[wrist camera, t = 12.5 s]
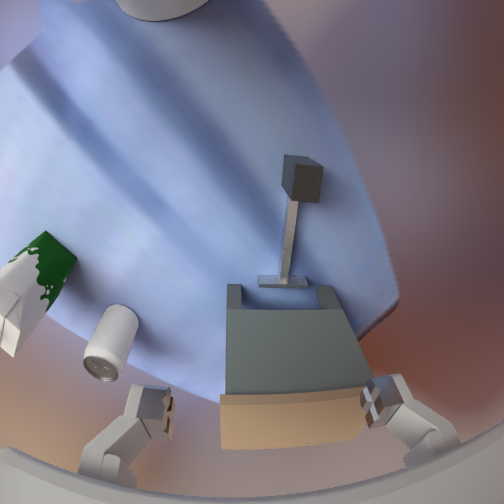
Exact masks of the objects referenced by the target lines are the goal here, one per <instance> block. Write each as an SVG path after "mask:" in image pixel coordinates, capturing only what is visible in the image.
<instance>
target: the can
mask: <svg viewBox="0 0 504 504" xmlns="http://www.w3.org/2000/svg"><path fill="white" fill-rule="evenodd" d="M138 326H139V321H138V318H137V316H136V315H135V313H134V312H133V311H132V310H131V309H130V308H128V307H126V306H124V305H119V304H115V305H111V306H109V307H107V309H106V310H105V312H104V314H103V315H102V317H101V319H100V321H99V323H98V325H97V327H96V329H95V331H94V333H93V335H92V337H91V339H90V341H89V343H88V345H87V347H86V349H85V352H84V361H83V365H84V367H85V369H86V370H87V371H88V372H89V373H90V374H91V375H92V376H94V377H95V378H97V379H99V380H102V381H106V382H113V381H115V380H117V379H118V376H119V375H120V374H121V373H122V372H123V369H124V367H125V364H126V361H127V358H128V355H129V352H130V350H131V347H132V344H133V341H134V338H135V335H136V332H137V329H138Z"/></svg>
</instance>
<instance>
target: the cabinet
mask: <svg viewBox="0 0 504 504" xmlns="http://www.w3.org/2000/svg"><path fill="white" fill-rule="evenodd" d="M317 299H318V301H319V304H320V306H321V308H322V310H246V309H242V299H241V284H227V316H226V386H225V395H223V394H220V420H221V447H222V449H272V448H287V447H298V446H308V445H316V444H324V443H331V442H337V441H343V440H349V439H354V438H355V437H356V435H357V434H358V433H359V432H360V430H361V429H362V427H363V426H364V425H365V423H366V419H365V415H366V413H367V412H365V411H364V410H363V409H362V407H361V404H360V394H361V392H362V390H363V389H364V388H365V387H367V386H366V382H367V381H368V380H369V379H370V378H374V376H373V374H372V371H371V369H370V367H369V365H368V362H367V360H366V358H365V356H364V354H363V351H362V349H361V347H360V345H359V343H358V341H357V338H356V336H355V334H354V332H353V330H352V328H351V326H350V324H349V322H348V319H347V317H346V315H345V313H344V311H343V309H342V307H341V305H340V303H339V301H338V299H337V297H336V295H335V293H334V291H333V289H332V287H331V286H319V287H318V292H317Z"/></svg>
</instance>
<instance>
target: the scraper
mask: <svg viewBox="0 0 504 504" xmlns="http://www.w3.org/2000/svg"><path fill="white" fill-rule="evenodd" d="M322 174H323V166H321V165H320V164H318V163H317V162H315V161H313V160H312V159H310V158H309V157H303V156H293V155H284V165H283V175H282V187H283V188H284V190H285V191H286V193H287V203H286V212H285V220H284V229H283V237H282V246H281V254H280V262H279V270H278V275H258V283H259V287H265V288H308V283H307V280H306V278H305V276H288V275H289V268H290V261H291V254H292V247H293V240H294V233H295V225H296V218H297V210H298V202H299V201H300V202H314V203H319V196H320V189H321V182H322Z"/></svg>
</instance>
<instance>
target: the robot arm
mask: <svg viewBox="0 0 504 504" xmlns="http://www.w3.org/2000/svg"><path fill="white" fill-rule="evenodd" d="M115 1H116V2H117V3H118V5H119V6H120V8H121V9H122V10H123V11H124V12H125V13H127V14H128V15H130V16H132V17H134V18H137V19H141V20H147V21H160V20H167V19H172V18H176V17H179V16H182V15H185V14H187V13H189V12H191V11H193V10H195V9H197V8H199V7H200V6H202V5H203V4H204V3H206V2H207V1H208V0H115ZM366 386H367V387H365V388H364V389H363V390H362V392H361V394H360V404H361V407H362V409H363V410H364V411H365V412H367V413H366V415H365V419H366V422H367V425H368V427H369V429H370V428H374V427H380V426H384V425H386V427H387V428H388V429H389V430H390V431H391V432H392V433H393V434H394V435H395V436H397V437H398V438H399V439H400V440H401V441H402V442H403V443H404V444H405V445H406V446H407V447H409V448H410V449H411V450H410V451H409V452H408V453H407V454H405V455H404V457H403V460H404V463H405V466H406V468H403V469H400V470H397V471H394V472H391V473H388V474H385V475H382V476H379V477H375V478H372V479H368V480H364V481H360V482H356V483H352V484H348V485H343V486H338V487H334V488H328V489H323V490H317V491H311V492H304V493H296V494H287V495H277V496H264V497H231V498H230V497H229V498H228V497H200V496H185V495H176V494H168V493H160V492H153V491H147V490H141V489H137V481H138V477H137V476H136V475H135V474H134V473H133V472H132V471H131V470H130V469H129V468H128V466H129V465H130V464H131V463H132V462H133V461H134V460H135V458H136V457H137V456H138V455H139V454H140V453H141V451H142V450H143V449H144V448H145V447H146V446H147V444H148V443H149V442H150V441H151V439H158V440H170V441H171V438H172V429H173V427H172V424H171V421H172V419H174V411H175V409H174V408H175V406H174V400H173V397H171V389H170V387H163V386H153V385H145V384H137V383H133V384H132V386H131V389H130V393H129V396H128V400H127V404H126V408H125V412H124V416H119V417H118V418H117V419H116V420H115V421H113V422H112V423H111V424H110V425H109V426H108V427H107V428H105V429H104V430H103V431H102V432H101V433H100V434H99V435H97V436H96V437H95V438H94V439H93V440H92V441H90V442H89V443H88V444H87V445H86V446H85V447H84V449H83V453H82V457H81V461H80V465H79V469H78V473H74V472H71V471H68V470H65V469H62V468H60V467H57V466H54V465H52V464H49V463H47V462H44V461H42V460H39V459H37V458H35V457H32V456H30V455H28V454H26V453H24V452H22V451H20V450H17V449H15V448H12V447H6V448H4V449H2V450H0V504H504V420H502V421H501V422H499V423H497V424H496V425H494V426H492V427H491V428H489V429H487V430H486V431H484V432H482V433H481V434H479V435H477V436H475V437H473V438H471V439H470V440H468V441H466V442H464V443H462V444H461V442H460V440H459V438H458V436H457V434H456V431H455V429H454V427H453V425H452V423H451V422H449V421H448V420H446V419H445V418H443V417H442V416H440V415H439V414H437V413H436V412H434V411H433V410H431V409H430V408H428V407H427V406H425V405H423V404H422V403H421V402H419V401H418V400H414V399H413V397H412V395H411V393H410V391H409V389H408V387H407V385H406V383H405V381H404V379H403V377H402V375H401V374H400V373H397V374H393V375H386V376H381V377H376V378H370V379H369V380H368V381H367V382H366Z"/></svg>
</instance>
